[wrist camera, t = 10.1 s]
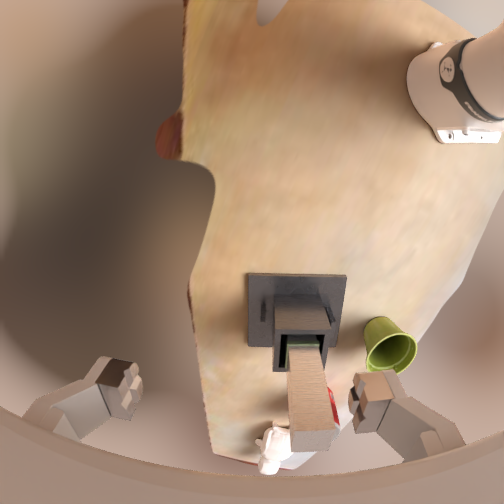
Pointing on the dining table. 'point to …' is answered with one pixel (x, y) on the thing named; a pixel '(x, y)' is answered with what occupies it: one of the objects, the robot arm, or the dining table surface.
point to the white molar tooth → (273, 448)
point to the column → (307, 395)
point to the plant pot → (388, 346)
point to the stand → (294, 310)
